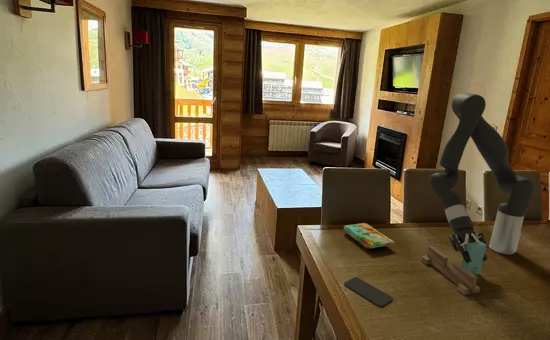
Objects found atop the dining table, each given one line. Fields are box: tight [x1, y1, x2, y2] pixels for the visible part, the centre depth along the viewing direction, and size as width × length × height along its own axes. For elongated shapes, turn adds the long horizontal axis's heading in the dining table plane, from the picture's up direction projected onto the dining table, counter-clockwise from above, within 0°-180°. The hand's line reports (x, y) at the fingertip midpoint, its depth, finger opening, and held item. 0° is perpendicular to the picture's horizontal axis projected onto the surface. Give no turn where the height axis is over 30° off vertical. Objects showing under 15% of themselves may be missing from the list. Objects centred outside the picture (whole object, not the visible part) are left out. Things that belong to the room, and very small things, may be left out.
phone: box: [343, 276, 394, 308], centre depth 108 cm, size 7×1×15 cm
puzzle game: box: [343, 222, 395, 249], centre depth 144 cm, size 12×5×20 cm
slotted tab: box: [461, 242, 488, 275], centre depth 121 cm, size 6×2×12 cm, turn 103°
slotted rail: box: [420, 245, 481, 296], centre depth 119 cm, size 6×22×6 cm, turn 14°
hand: (476, 261), depth 119 cm, fingers closed on slotted tab, 6 cm apart
